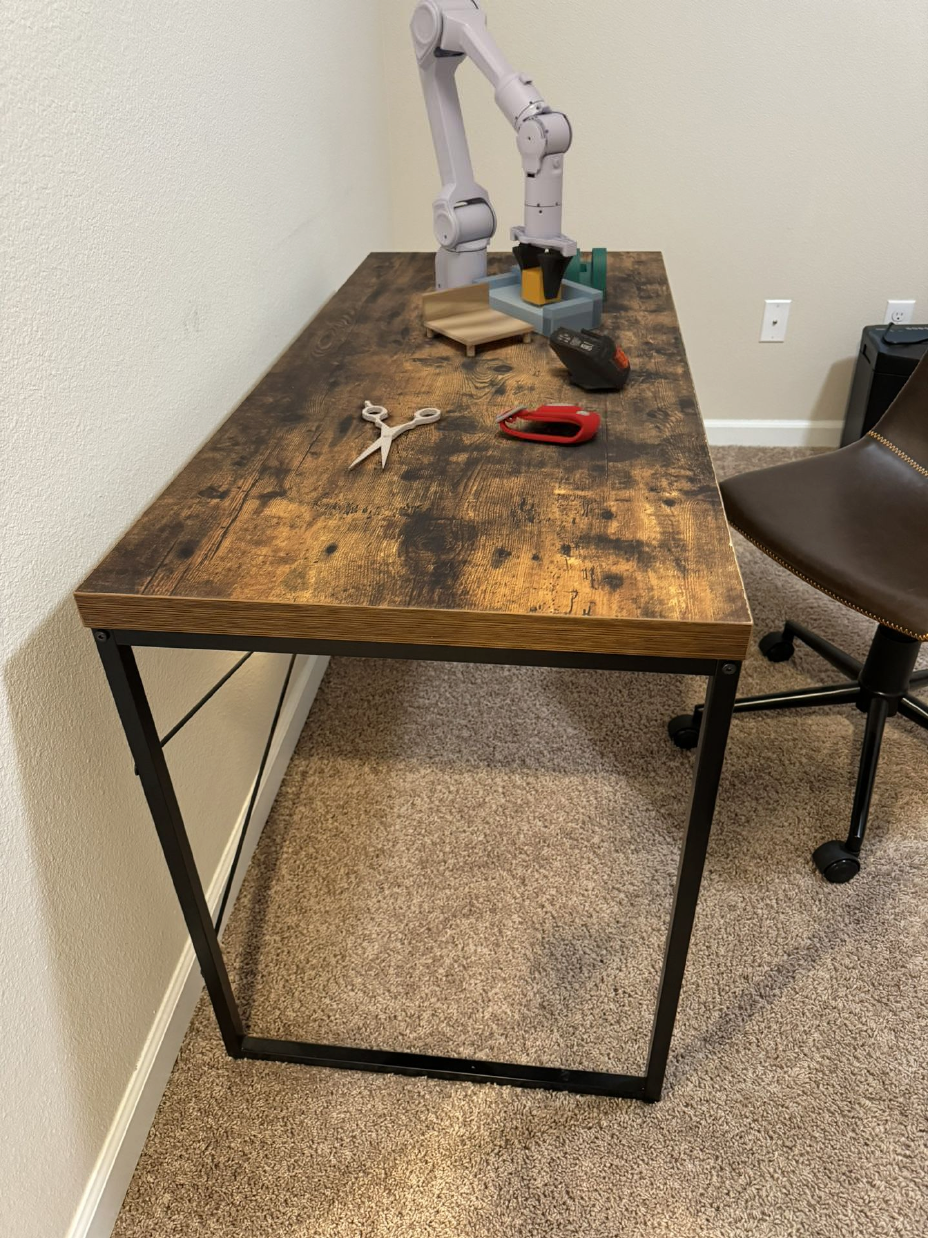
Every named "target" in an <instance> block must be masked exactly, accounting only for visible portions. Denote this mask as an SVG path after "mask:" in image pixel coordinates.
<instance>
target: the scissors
mask: <svg viewBox="0 0 928 1238" xmlns="http://www.w3.org/2000/svg"><path fill="white" fill-rule="evenodd" d="M370 413H372V414H370ZM373 413H377V414H373ZM361 415H362V418H363V419H364V420H366V421H369V422H373V423H375V427H377V428H380V429H381V431H380V437H379V438H378V439H377V440H375V441H374V442H373V443H372V444H371V445H369V447H368V448H366V450H364V451H363V452H362V453H361V454H360V455H359V456H358V457H357V458H356V459H355V460H354V461H353V462H352V463H351V464H350V465H349V467H348V469H350V468H351V467H353V466H354V465H356V464H357V463H358V462H360V461H361V460H363V459H365V458H366V457H367V456H369V455H370V454H371V453H373V452H374V451H376V450H377V449H379V448H381V449H380V450H381V462H382V463H381V464H382V469H384V468H385V464H386V462H387V459H388V456H389V453H390V450H391V446H392V441H393V440H394V439H396V438H397V437H398V436H399V435H400V434H402V433H404V432H405V431H407V430H410V429H414V428H415V427H417V426H418V425H424V424H432V423H434V422H437V421H438V420H440V418H441V410H440V409H439V408H437V407H436V408H435V407H426V408H422V409H419V410H417V411H415V412H414V413H413V420H411V421H409V422H406V423H403V424H399V425H396V426H393V427H390V426H388V425H387V424H386V423H384V422H383V421H382V420H383V419H386V418H388V416H389V415H388V410H387V409H386V408H385V407H384V406H380V405H373V404H372V403H371V400H365V401H364V408H363V409H362V412H361ZM427 415H431V416H427Z"/></svg>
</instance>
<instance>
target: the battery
mask: <svg viewBox="0 0 928 1238" xmlns="http://www.w3.org/2000/svg"><path fill="white" fill-rule="evenodd" d="M548 347H549V348H550V349H551V350H552V351H553V352H554V354H555V355H556V357H557V358H558V359H559V361H560V363H562V365H564V367H565V368H566V369H567V371H569V373H570V374H571V375H572V377H570V378H568V380H569V381H571V382H572V383H574V384H576V385H577V386H579V387H580V388H582V389H583V390H587V391H588V390H593V389H594V390H595V389H621V388H622V387H624V386H625V385H626V383H627V381H628V378H629V374H630V373H631V369H632V368H631V367H632V366H631V364H630V360H629V359H628V358H627V356H626V354H625V352H624V351H623V350H622V348H621V347H620V346H619V345H618V344H617V343H616V341H615V340H614V339H613V338H612V337H611V336H610V335H608V334H604V335H602V334H601V333H600V334H599V333H597V332H594V331H592V330H590V329H589V330H586V329H584V328H582V329H581V332H577V331H574V330H571V329H568V328H565V327H562V326H560V327H559V328H558V330H556V331H553V332H552V334H551V335H550V338H549V340H548Z"/></svg>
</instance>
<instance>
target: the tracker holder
mask: <svg viewBox="0 0 928 1238" xmlns="http://www.w3.org/2000/svg"><path fill="white" fill-rule="evenodd" d="M517 418H518V419H521V420H522V421H529V422H546V423H547V422H549V423H550V422H552V423H570V424H575V425H577V426H579V427H580V430H579V431H578V432H577V434H576V435H574V436H573V437H569V436H560V435H551V434H541V433H532V432H524V431H519V430H516V429H513V428H511V427H509V426H508V425H507V424H506V423H509V424H513V423H514V422H516V421H517V420H518V419H517ZM494 423H495V424H499V425H498V426H499V427H500V429H501V430H502V431H503V432H505V433H506V434H508V435H511V436H514V437H516V438H517V437H518V438H521V439H526V440H534V441H542V442H550V443H560V444H577V443H584V442H586V441H588V440H590V439H591V438H592V437H593V436H594V435H595V434H596V433H597V431H598V429H599V427H600V423H601V418H600V415H599V413H597V412H593V411H587V410H586V411H585V410H583V408H582V407H580V406H578V405H576V404H570V403H566V402H565V403H564V402H563V403H562V402H560V403H559V402H558V403H556V402H555V403H548V404H543V405H540V406H538V407H537V408H536V409H535V410H528V406H527V405H519V406H517V407H515V408H511V409H510V408H508V409H506V410H504V411H502V412H500V413H499V414H498V415H496V416H495V419H494Z"/></svg>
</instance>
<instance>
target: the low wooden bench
mask: <svg viewBox="0 0 928 1238" xmlns="http://www.w3.org/2000/svg"><path fill="white" fill-rule="evenodd" d="M421 303H422V320H423V323H422V324H423V326H424V327H425V328H426V338H428V339H429V338H434V337H435V336H436V335H435V332H437V333H439V334H441V335H443V336H446V337H448V338H450V339H452V340H455V341H457V342H459V343H461V344H463V345H465V346H466V357H468V358H469V357H470V358H472V357H475V356H476V352H475V351H476V345H481V344H485V343H490V342H493V341H497V340H502V339H505V338H506V339H507V338H510V337H514V336H518V335H522V342H523V343H524V344H528V343H531V341H532V332H534V326H533V325H531V324H528V323H526V322H523V321H521V320H518V319H516V318H513V317H511V316H508V315H506V314H503V313H501V312H498V311H496V310H493V309H491V308H489V282H486V281H484V282H479V283H475V284H470V285H465V286H460V287H455V288H450V289H445V290H440V291H436V290H435V291H430V292H427V293H422V294H421Z"/></svg>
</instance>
